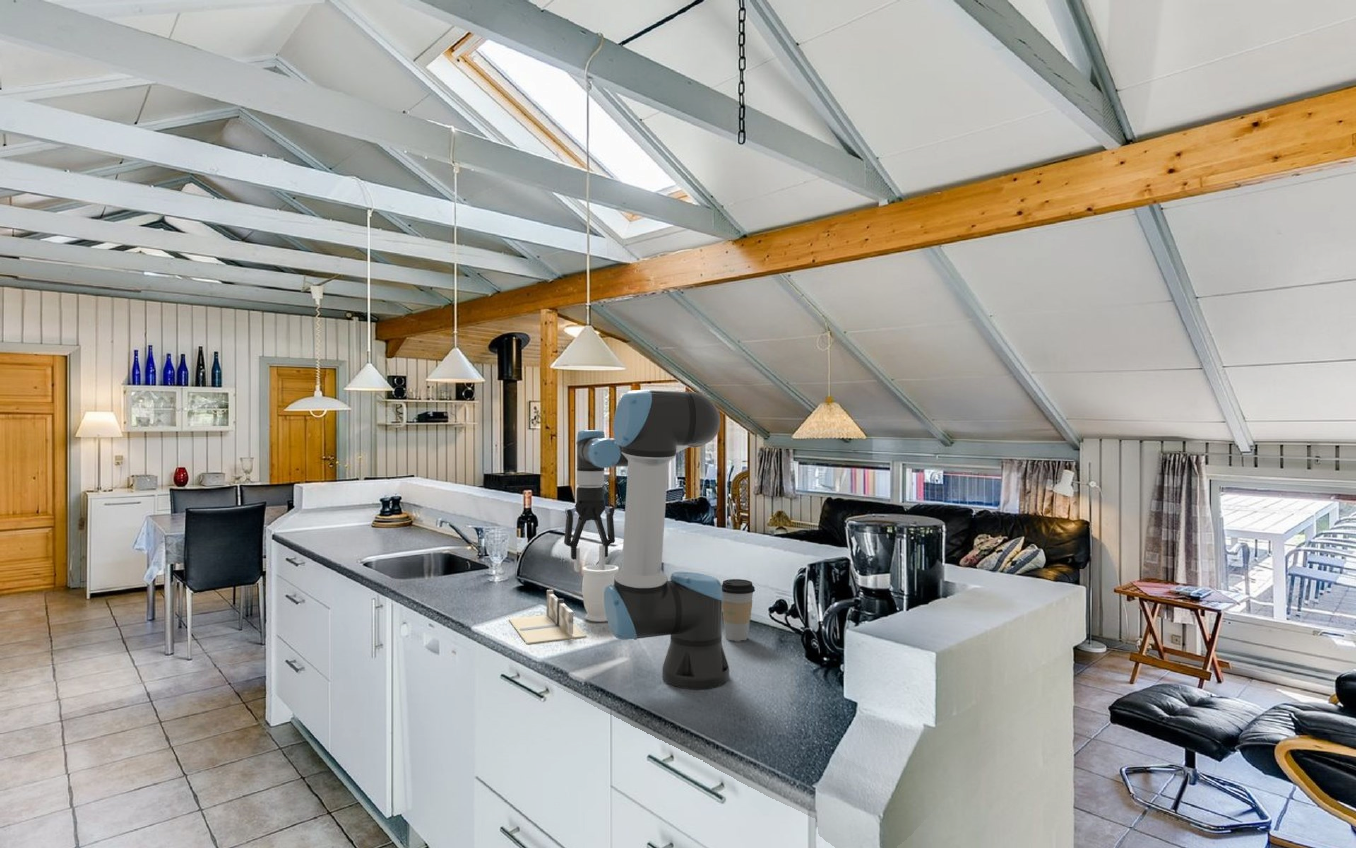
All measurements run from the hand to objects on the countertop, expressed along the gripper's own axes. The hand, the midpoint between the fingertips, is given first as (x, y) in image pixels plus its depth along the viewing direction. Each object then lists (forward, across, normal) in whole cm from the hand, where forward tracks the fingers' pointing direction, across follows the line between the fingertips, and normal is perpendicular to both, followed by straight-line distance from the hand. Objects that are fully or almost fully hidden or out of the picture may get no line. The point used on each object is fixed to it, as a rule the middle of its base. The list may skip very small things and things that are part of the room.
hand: (589, 570), depth 192 cm
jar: (+17, -7, -12) cm, 22 cm away
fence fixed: (+17, +6, -13) cm, 22 cm away
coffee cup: (+17, -35, +20) cm, 44 cm away
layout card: (+17, +10, -8) cm, 21 cm away
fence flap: (+16, +6, -2) cm, 17 cm away
